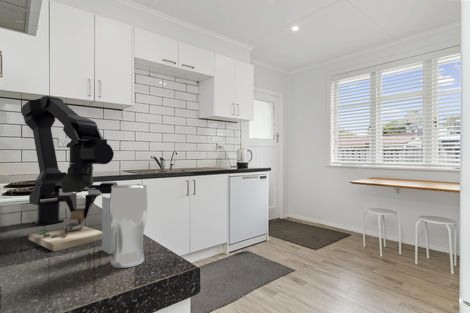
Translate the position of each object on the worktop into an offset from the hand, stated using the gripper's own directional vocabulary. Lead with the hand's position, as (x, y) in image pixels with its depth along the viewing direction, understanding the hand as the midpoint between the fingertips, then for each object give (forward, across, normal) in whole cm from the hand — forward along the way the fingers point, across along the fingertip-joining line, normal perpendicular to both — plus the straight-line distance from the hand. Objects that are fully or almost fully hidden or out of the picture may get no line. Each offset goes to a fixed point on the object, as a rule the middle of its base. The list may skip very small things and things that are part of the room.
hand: (80, 218), depth 73 cm
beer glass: (+3, +16, -27) cm, 32 cm away
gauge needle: (+1, 0, -5) cm, 5 cm away
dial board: (+3, 0, -8) cm, 9 cm away
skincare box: (+3, +13, -19) cm, 24 cm away
